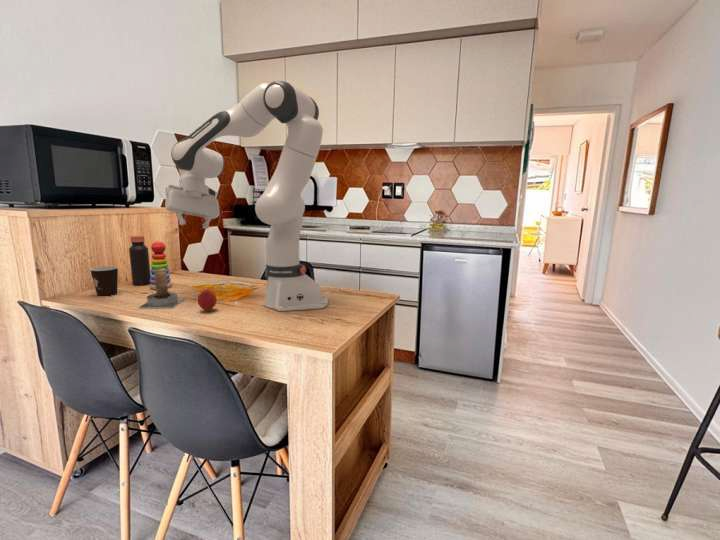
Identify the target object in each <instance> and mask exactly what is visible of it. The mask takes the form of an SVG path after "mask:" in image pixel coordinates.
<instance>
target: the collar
mask: <svg viewBox="0 0 720 540" xmlns="http://www.w3.org/2000/svg"><path fill="white" fill-rule="evenodd" d="M185 299H186V298H185V297H178V293H176V292H171V291H168V297H162V298H157V296H156V292H155V293H152V294H149V295H148V296H146V301H147V302H145V303H144V304H142V305H141V306H139V307H138V309H139V308H147V309H174V308H175V307H177V306H178V305H179V304H181V303H182V302H184V301H185ZM181 301H182V302H181ZM180 302H181V303H180ZM177 304H178V305H177ZM176 305H177V306H176Z"/></svg>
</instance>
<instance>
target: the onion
mask: <svg viewBox="0 0 720 540" xmlns="http://www.w3.org/2000/svg"><path fill="white" fill-rule="evenodd" d="M217 301H218V299H217V296H216V294H215V293H214V292H213V291H212V290H210V288H209V287H207V286H206V287H204V289H203V291H202V292H200V293H199V295H198V297H197V304H198V306H199V307H200V308H201V309H202V310H204V311H206V312H210V311H211V310H212V309H213V308H214V307H215V306H216V305H217Z"/></svg>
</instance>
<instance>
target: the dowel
mask: <svg viewBox="0 0 720 540" xmlns="http://www.w3.org/2000/svg"><path fill="white" fill-rule="evenodd" d="M154 275H155V286H156V289H155V293H156V296H157V298H162V297H168V292H169V291H168V290H169V288H167V277H166V268H155V269H154Z"/></svg>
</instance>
